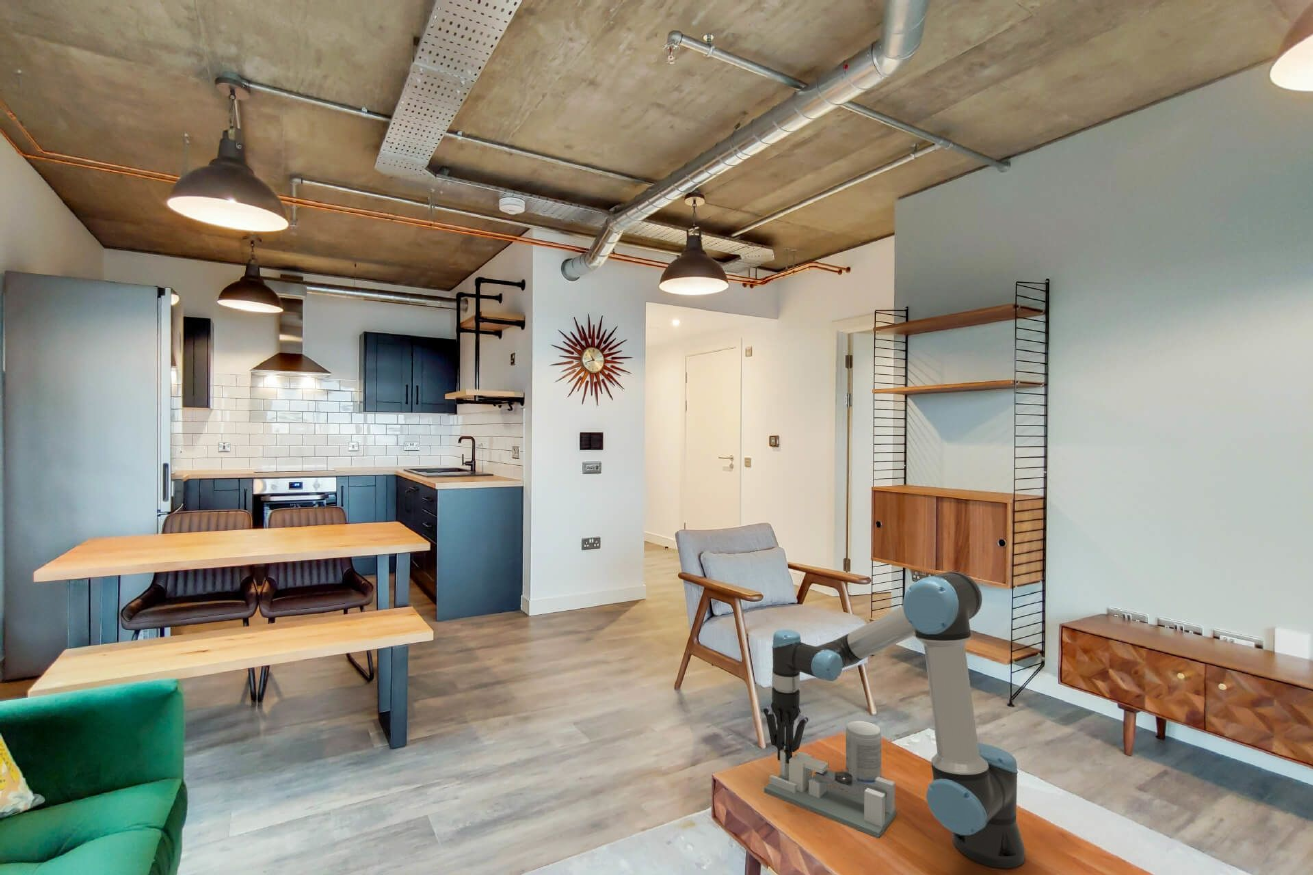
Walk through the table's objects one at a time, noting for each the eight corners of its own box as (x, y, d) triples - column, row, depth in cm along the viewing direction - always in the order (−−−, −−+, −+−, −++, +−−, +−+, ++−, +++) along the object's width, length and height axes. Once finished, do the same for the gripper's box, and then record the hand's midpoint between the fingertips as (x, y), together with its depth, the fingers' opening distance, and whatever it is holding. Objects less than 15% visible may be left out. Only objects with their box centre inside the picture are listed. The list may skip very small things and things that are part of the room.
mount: (896, 814, 164) (897, 781, 164) (878, 837, 154) (879, 802, 154) (786, 773, 183) (787, 743, 183) (764, 792, 173) (764, 760, 173)
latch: (829, 789, 173) (830, 761, 173) (820, 799, 168) (820, 770, 168) (798, 778, 178) (799, 751, 178) (788, 787, 174) (789, 759, 174)
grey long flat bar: (886, 796, 162) (887, 787, 162) (880, 804, 159) (880, 794, 159) (821, 772, 173) (822, 763, 173) (814, 778, 170) (814, 769, 170)
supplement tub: (887, 780, 180) (888, 728, 181) (870, 792, 174) (871, 738, 174) (855, 767, 187) (856, 717, 188) (838, 779, 181) (839, 726, 181)
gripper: (813, 689, 177) (812, 775, 177) (771, 678, 185) (770, 760, 185) (801, 697, 171) (800, 786, 171) (758, 685, 179) (757, 770, 179)
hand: (784, 773), depth 178 cm, fingers closed
